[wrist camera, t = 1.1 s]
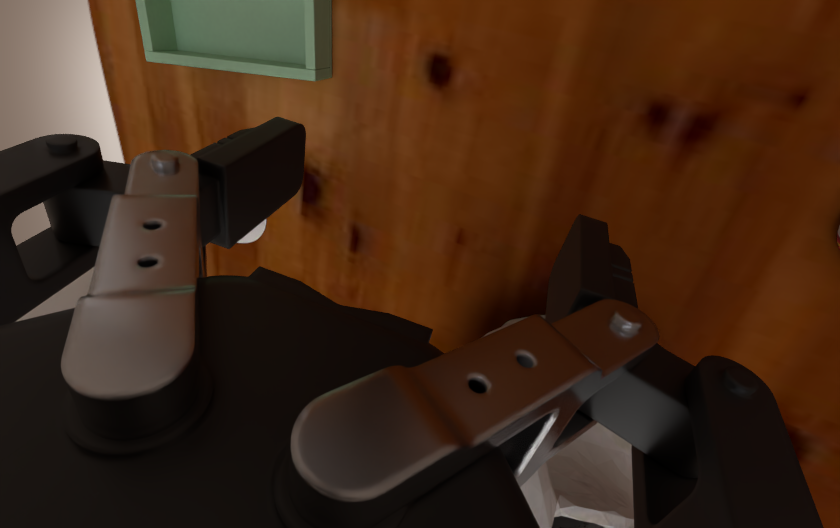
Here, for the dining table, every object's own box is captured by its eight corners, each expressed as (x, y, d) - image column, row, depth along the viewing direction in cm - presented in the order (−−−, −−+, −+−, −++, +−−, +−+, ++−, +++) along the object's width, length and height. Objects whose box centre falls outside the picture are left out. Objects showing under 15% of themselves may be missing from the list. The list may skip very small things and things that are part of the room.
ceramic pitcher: (412, 290, 47) (287, 518, 26) (607, 223, 38) (653, 486, 17) (501, 439, 54) (457, 716, 33) (683, 412, 45) (783, 765, 24)
